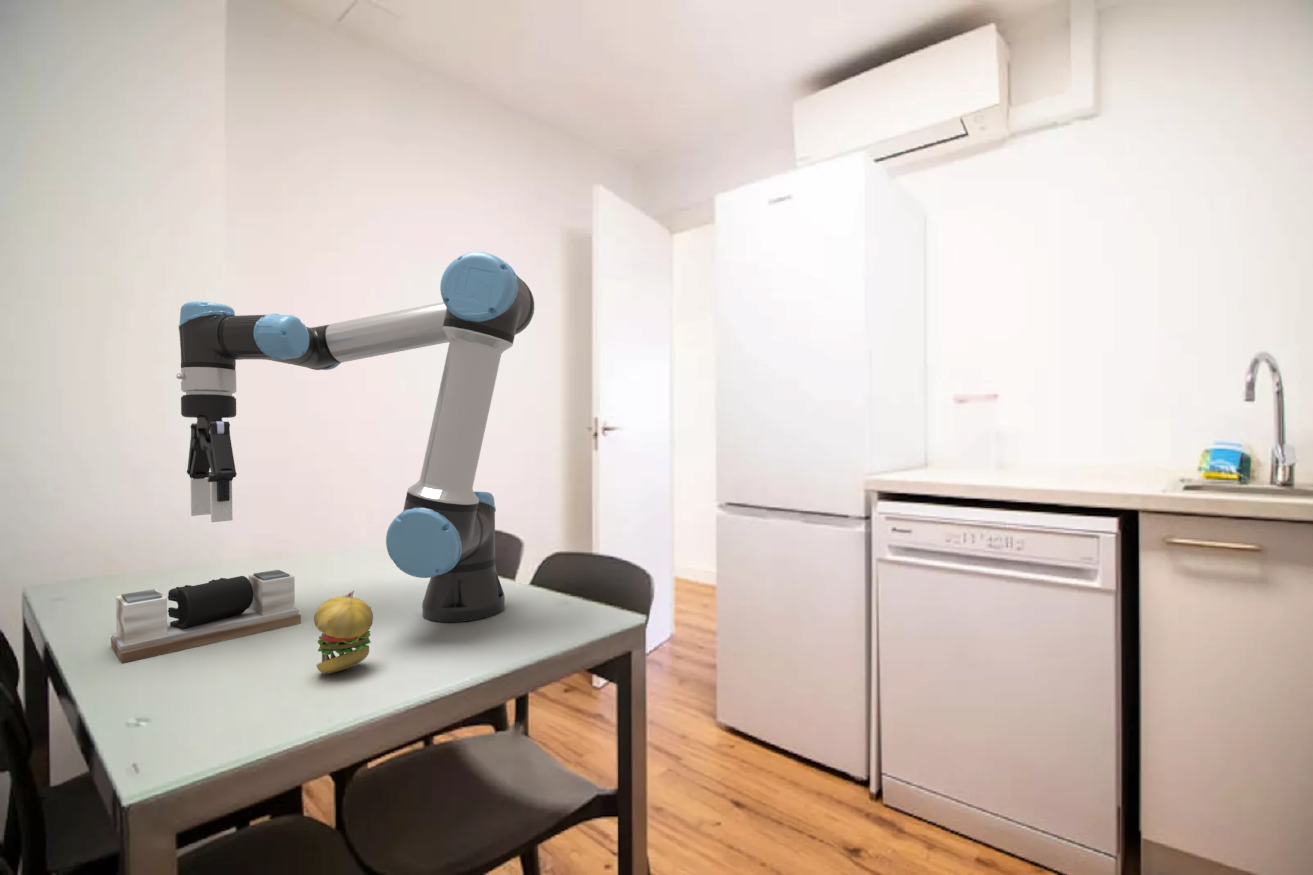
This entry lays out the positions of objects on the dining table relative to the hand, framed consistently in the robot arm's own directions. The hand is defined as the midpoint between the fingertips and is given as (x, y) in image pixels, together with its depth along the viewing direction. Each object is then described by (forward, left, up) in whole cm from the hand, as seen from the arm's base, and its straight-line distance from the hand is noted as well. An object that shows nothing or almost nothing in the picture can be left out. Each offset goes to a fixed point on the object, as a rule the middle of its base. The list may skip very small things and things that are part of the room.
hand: (211, 518), depth 99 cm
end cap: (0, 0, -18) cm, 18 cm away
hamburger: (-35, -8, -20) cm, 41 cm away
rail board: (0, 0, -20) cm, 20 cm away
